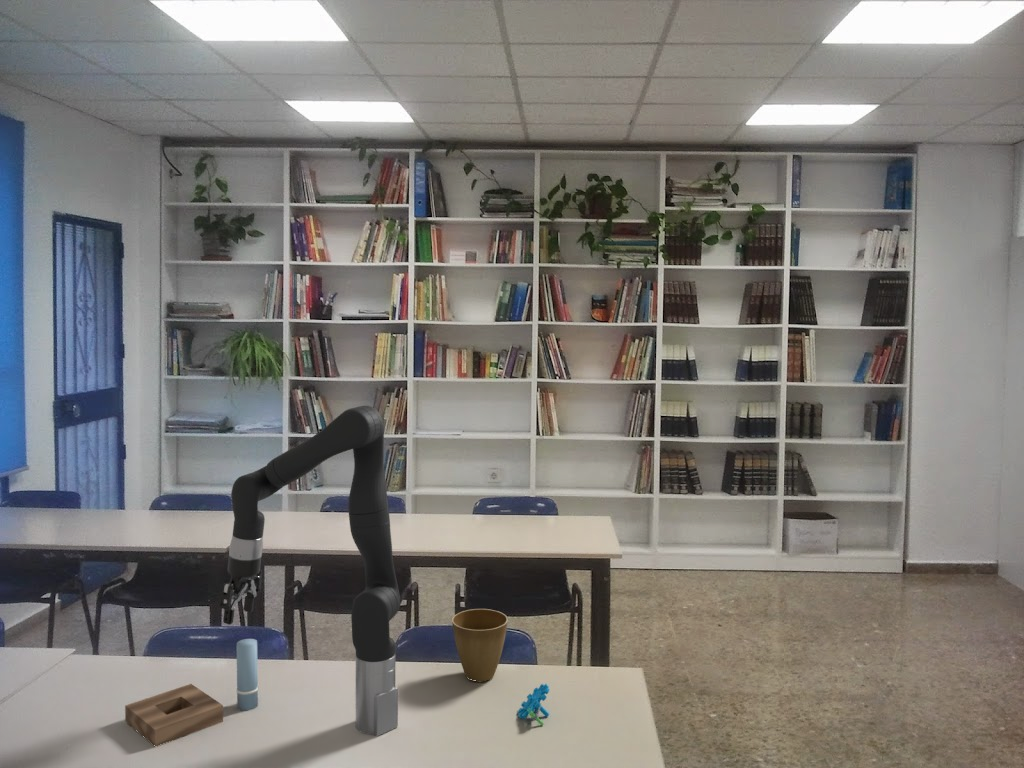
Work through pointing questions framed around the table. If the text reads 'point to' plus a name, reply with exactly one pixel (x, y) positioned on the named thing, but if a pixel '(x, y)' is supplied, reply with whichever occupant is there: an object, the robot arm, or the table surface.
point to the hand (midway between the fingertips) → (238, 617)
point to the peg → (247, 674)
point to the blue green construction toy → (535, 704)
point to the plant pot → (479, 641)
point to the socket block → (173, 714)
